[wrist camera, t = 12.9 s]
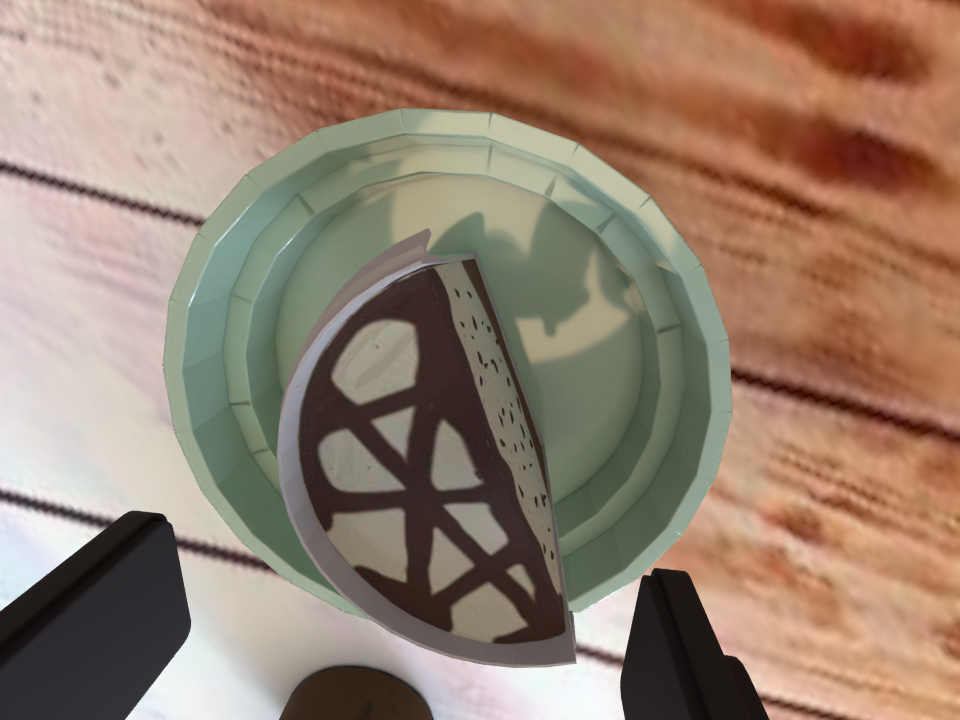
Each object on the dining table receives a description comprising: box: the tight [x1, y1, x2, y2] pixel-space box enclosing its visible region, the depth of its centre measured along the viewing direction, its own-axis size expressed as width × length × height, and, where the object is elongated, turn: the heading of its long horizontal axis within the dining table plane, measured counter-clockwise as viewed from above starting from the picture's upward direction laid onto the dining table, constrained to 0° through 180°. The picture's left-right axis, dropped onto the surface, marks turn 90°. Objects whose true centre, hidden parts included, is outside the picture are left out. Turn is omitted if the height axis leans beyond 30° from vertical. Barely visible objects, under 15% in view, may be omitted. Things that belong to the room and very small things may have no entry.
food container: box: [277, 228, 577, 668], centre depth 16 cm, size 12×6×10 cm, turn 19°
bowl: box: [163, 108, 732, 620], centre depth 19 cm, size 19×19×6 cm
